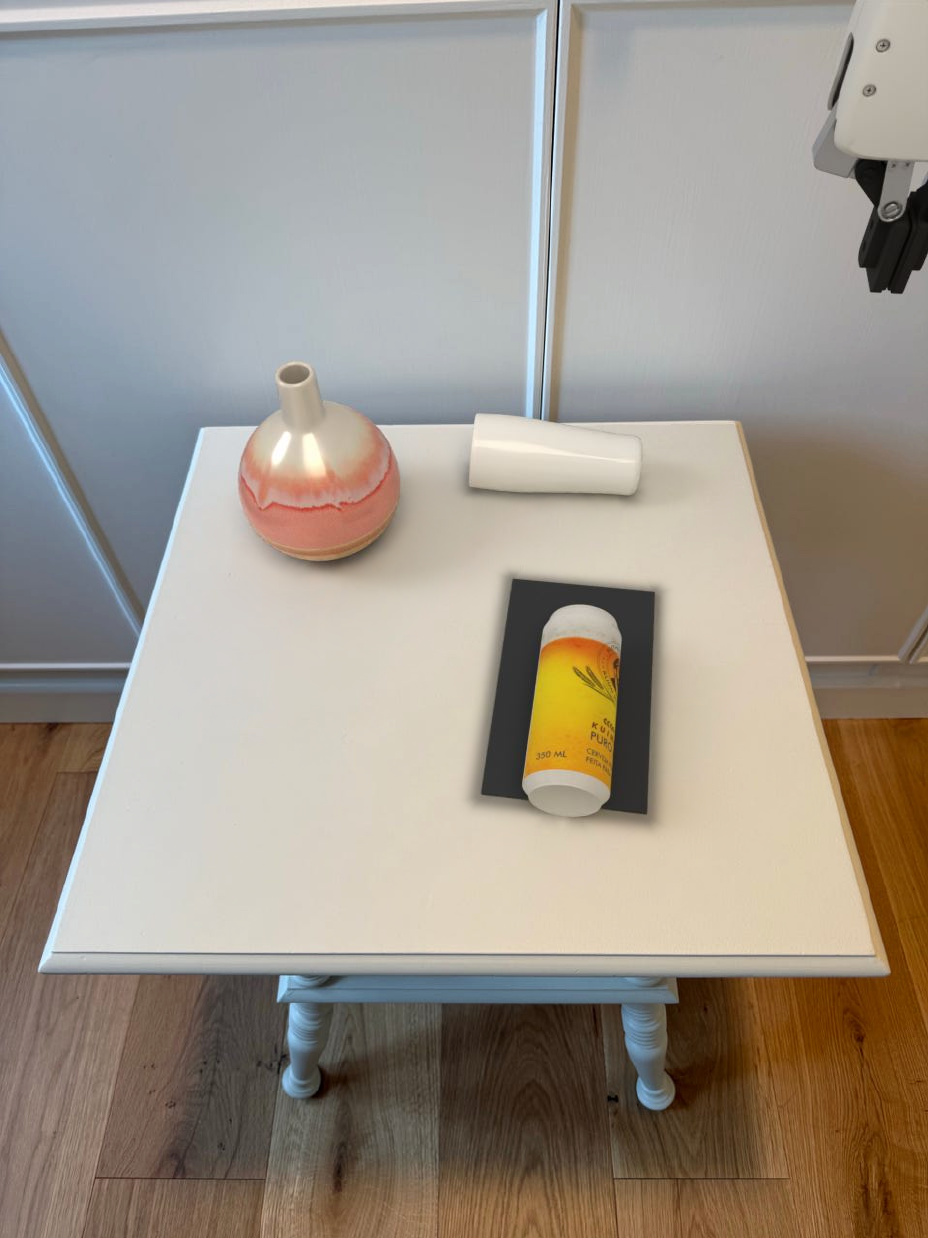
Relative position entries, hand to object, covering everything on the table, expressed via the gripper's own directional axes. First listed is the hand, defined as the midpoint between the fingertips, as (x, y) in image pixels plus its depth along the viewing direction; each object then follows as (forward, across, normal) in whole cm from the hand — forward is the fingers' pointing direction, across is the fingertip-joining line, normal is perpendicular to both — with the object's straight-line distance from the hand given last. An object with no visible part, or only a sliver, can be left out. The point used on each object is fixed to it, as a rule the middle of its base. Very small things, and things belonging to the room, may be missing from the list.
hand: (882, 277), depth 49 cm
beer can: (+29, +14, +20) cm, 37 cm away
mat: (+32, +14, +8) cm, 36 cm away
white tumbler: (+29, +10, -14) cm, 34 cm away
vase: (+32, +37, -6) cm, 49 cm away
